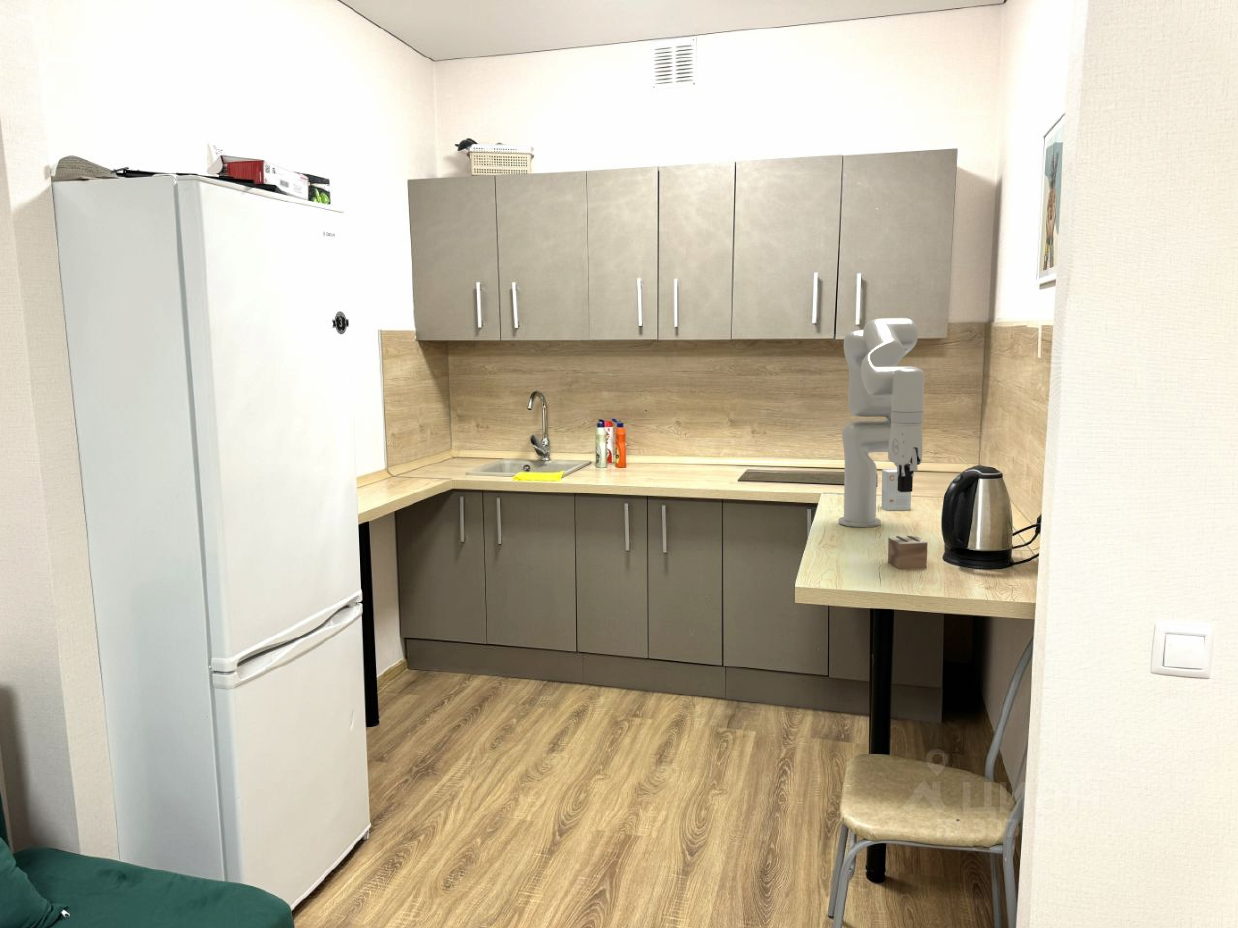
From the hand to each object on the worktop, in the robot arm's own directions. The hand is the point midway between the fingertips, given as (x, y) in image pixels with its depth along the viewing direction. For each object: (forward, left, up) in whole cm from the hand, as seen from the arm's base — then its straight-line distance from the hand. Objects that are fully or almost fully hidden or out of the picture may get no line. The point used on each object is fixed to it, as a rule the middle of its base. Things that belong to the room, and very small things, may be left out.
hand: (904, 491), depth 220 cm
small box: (-69, +29, -19) cm, 77 cm away
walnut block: (+3, 0, -12) cm, 12 cm away
